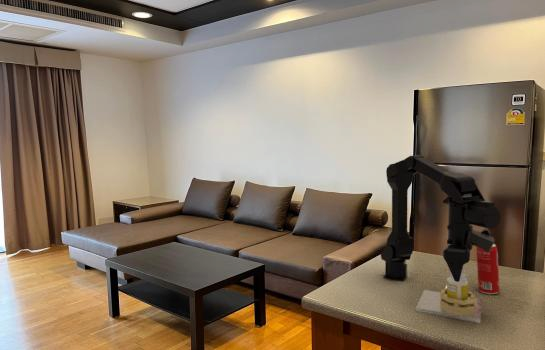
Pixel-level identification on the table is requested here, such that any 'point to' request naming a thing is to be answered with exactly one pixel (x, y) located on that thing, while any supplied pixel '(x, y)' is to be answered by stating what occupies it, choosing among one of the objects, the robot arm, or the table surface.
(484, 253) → the beverage can
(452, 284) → the supplement bottle
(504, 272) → the table surface
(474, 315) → the plate
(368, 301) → the table surface
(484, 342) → the table surface
